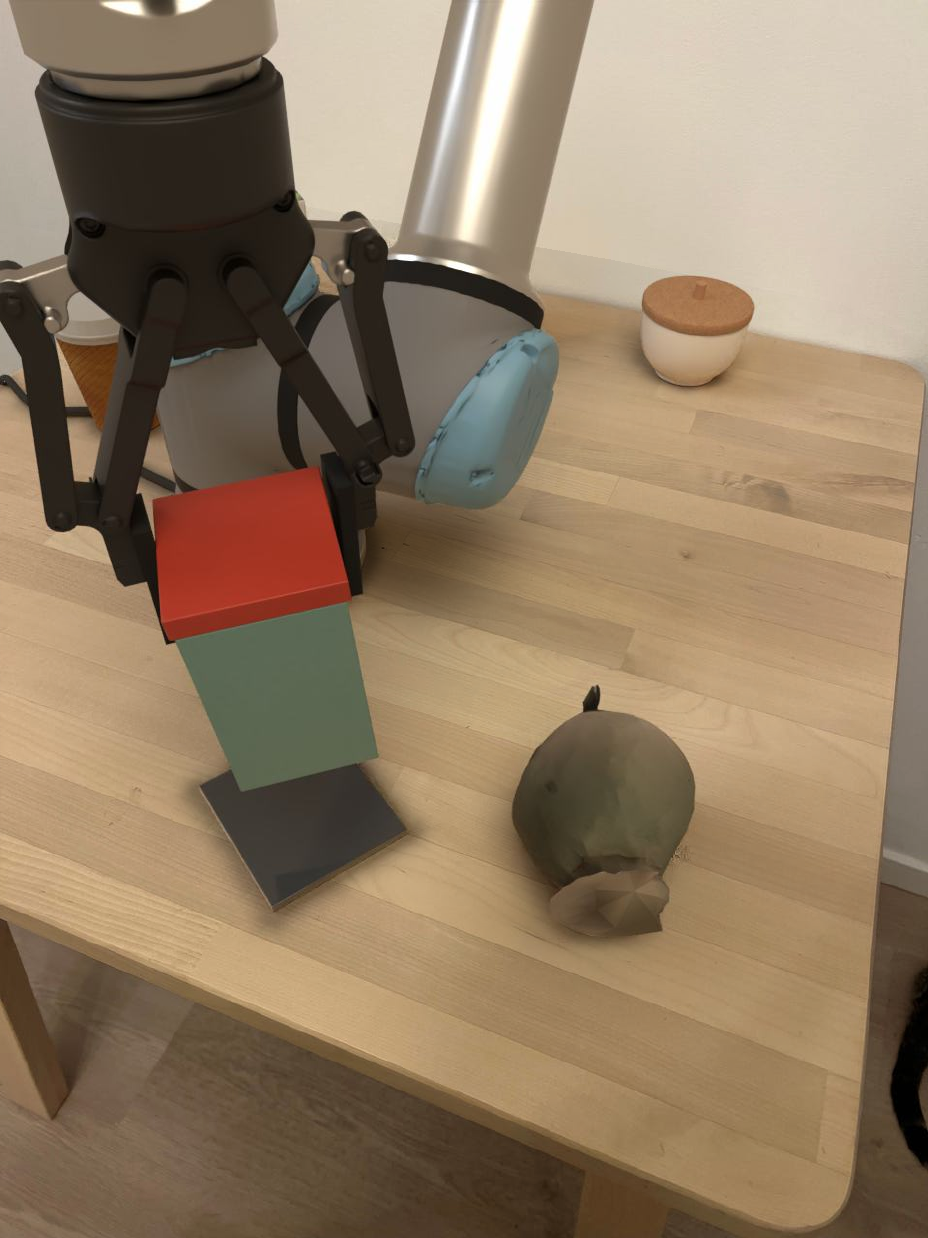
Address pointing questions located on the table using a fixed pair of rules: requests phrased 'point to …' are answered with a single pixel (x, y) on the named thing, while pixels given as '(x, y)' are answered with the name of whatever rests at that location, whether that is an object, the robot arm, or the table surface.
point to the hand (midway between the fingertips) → (260, 599)
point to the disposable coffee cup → (91, 353)
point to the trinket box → (693, 327)
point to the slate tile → (302, 827)
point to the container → (265, 624)
